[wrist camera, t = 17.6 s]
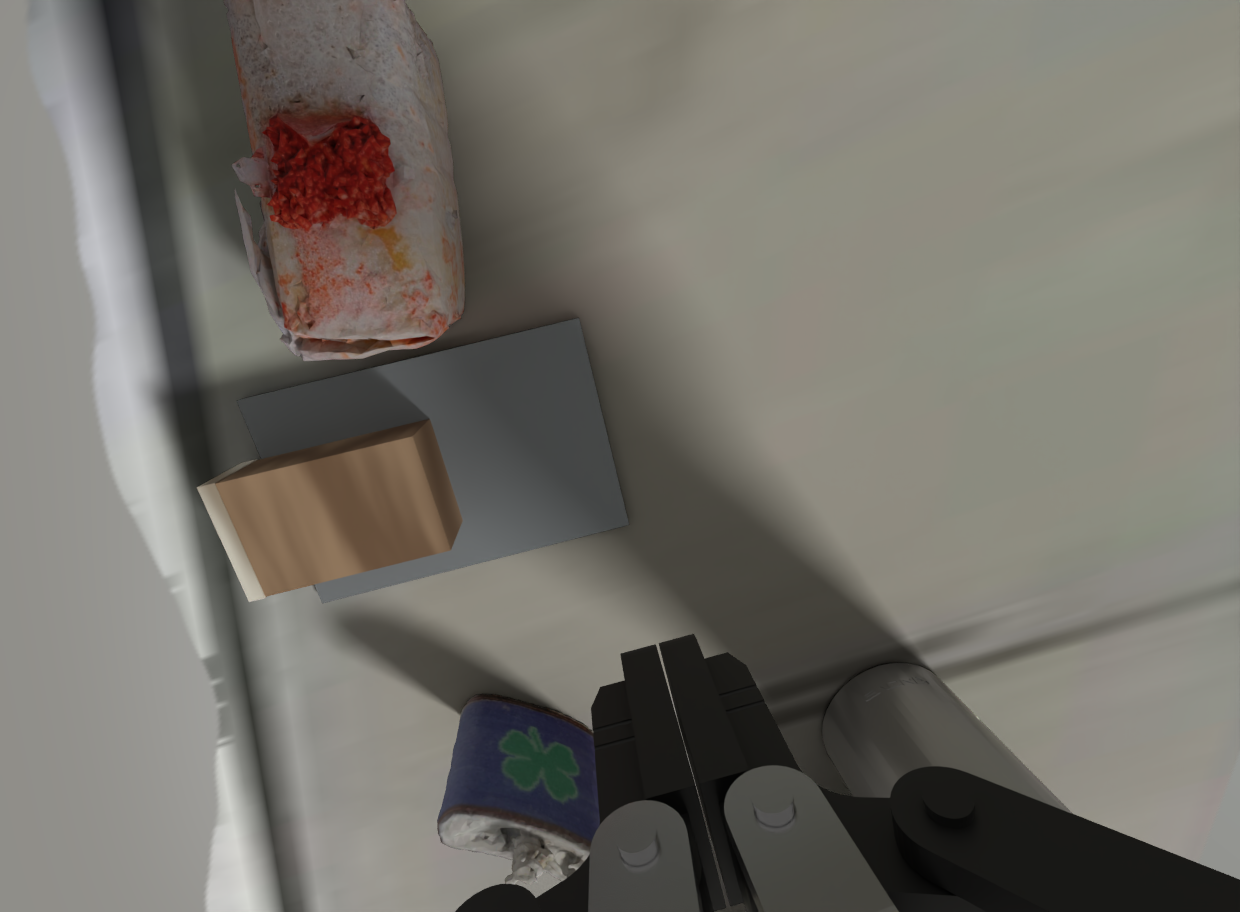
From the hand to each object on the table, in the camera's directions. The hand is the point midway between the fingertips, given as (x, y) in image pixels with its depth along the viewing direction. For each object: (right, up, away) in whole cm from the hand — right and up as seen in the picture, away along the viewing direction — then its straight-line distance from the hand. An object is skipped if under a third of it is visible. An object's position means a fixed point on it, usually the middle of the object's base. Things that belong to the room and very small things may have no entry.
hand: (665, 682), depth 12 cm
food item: (-12, +17, +18) cm, 28 cm away
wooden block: (-10, +3, +19) cm, 22 cm away
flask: (-7, -13, +27) cm, 30 cm away
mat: (-11, +4, +21) cm, 24 cm away
